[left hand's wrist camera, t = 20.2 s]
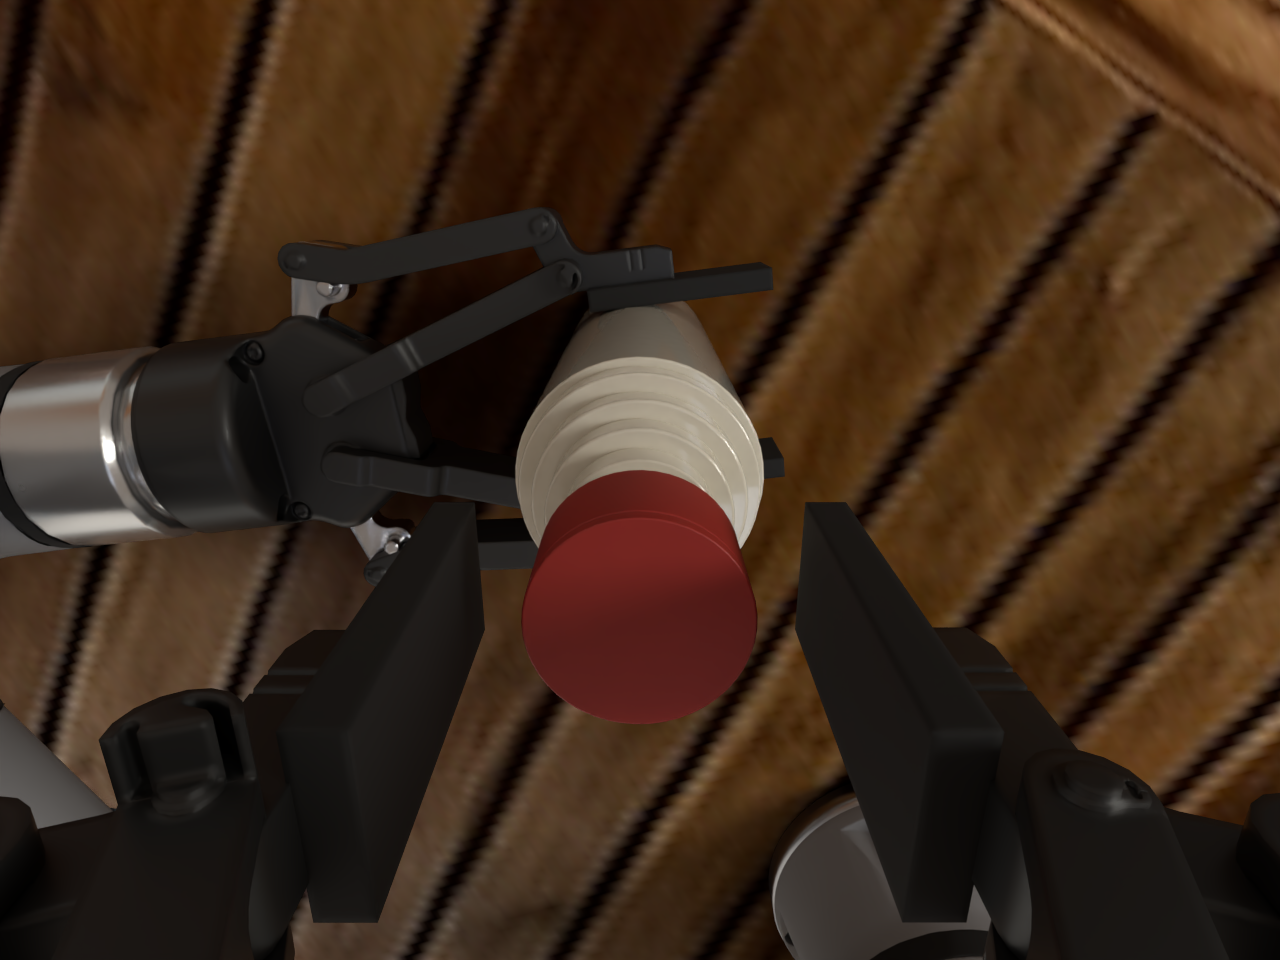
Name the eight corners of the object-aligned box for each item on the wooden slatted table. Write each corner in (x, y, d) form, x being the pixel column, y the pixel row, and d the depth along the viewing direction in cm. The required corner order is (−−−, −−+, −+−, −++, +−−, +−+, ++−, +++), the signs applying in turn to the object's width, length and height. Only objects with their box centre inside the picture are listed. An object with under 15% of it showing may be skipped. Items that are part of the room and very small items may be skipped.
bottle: (729, 316, 35) (888, 515, 12) (676, 438, 37) (732, 799, 14) (600, 263, 34) (524, 375, 12) (553, 391, 36) (412, 696, 14)
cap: (518, 623, 15) (497, 694, 13) (567, 444, 14) (553, 489, 12) (703, 670, 16) (713, 746, 13) (768, 500, 14) (791, 554, 12)
